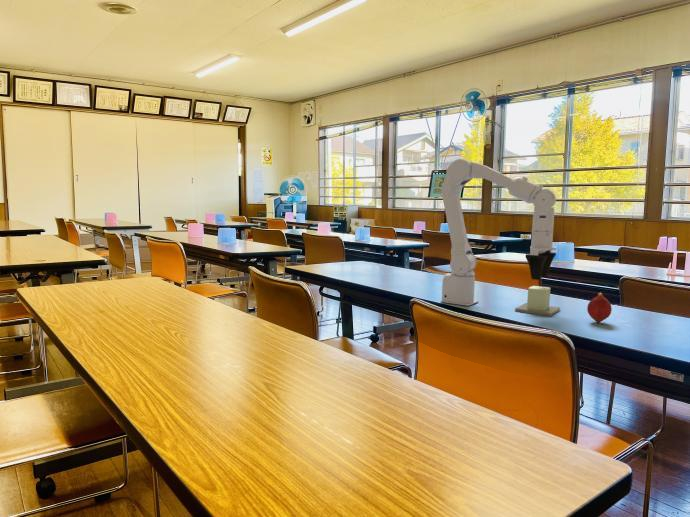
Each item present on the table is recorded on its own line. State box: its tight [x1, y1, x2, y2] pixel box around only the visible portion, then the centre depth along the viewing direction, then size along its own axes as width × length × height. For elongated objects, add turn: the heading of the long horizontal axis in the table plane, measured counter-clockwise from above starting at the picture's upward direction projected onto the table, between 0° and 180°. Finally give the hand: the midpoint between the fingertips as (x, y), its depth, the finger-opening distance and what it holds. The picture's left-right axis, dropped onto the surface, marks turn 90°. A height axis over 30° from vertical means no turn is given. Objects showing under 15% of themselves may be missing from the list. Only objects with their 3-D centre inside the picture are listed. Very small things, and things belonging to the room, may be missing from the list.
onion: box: [586, 292, 613, 323], centre depth 136 cm, size 6×6×8 cm
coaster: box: [514, 302, 561, 317], centre depth 149 cm, size 10×10×1 cm
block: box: [526, 285, 551, 311], centre depth 149 cm, size 5×5×6 cm
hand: (539, 277), depth 148 cm, fingers open, 7 cm apart
